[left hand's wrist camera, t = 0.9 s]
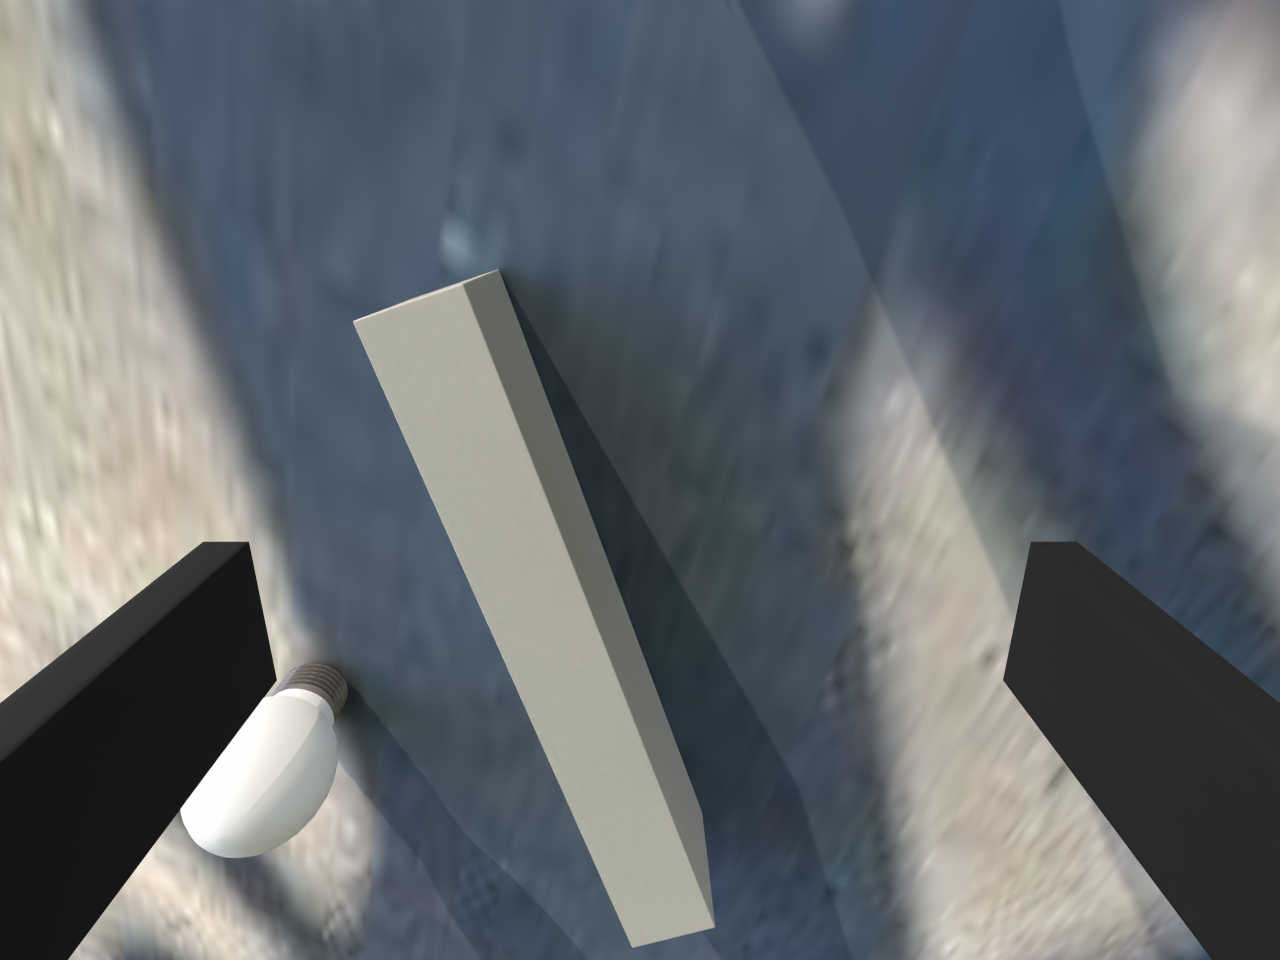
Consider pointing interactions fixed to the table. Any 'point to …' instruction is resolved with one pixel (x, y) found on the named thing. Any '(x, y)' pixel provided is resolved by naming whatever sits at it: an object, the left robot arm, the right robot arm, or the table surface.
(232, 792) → the light bulb
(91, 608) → the table surface
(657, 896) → the bar
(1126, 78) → the table surface
